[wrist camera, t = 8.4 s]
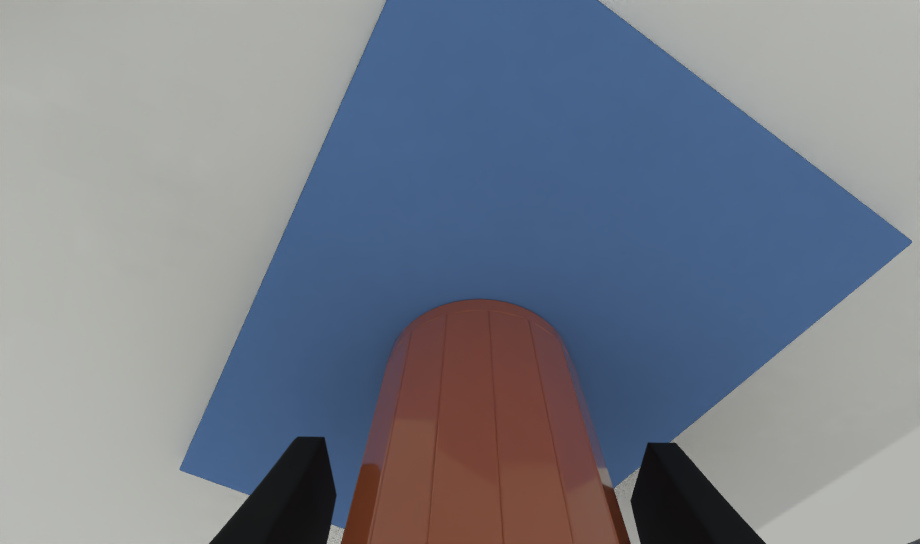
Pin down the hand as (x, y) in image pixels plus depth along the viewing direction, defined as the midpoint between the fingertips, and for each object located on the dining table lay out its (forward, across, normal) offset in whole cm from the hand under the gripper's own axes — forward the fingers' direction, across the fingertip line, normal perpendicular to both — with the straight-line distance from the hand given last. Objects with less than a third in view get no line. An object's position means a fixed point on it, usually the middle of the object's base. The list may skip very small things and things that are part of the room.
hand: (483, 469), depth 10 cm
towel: (+3, 0, 0) cm, 3 cm away
